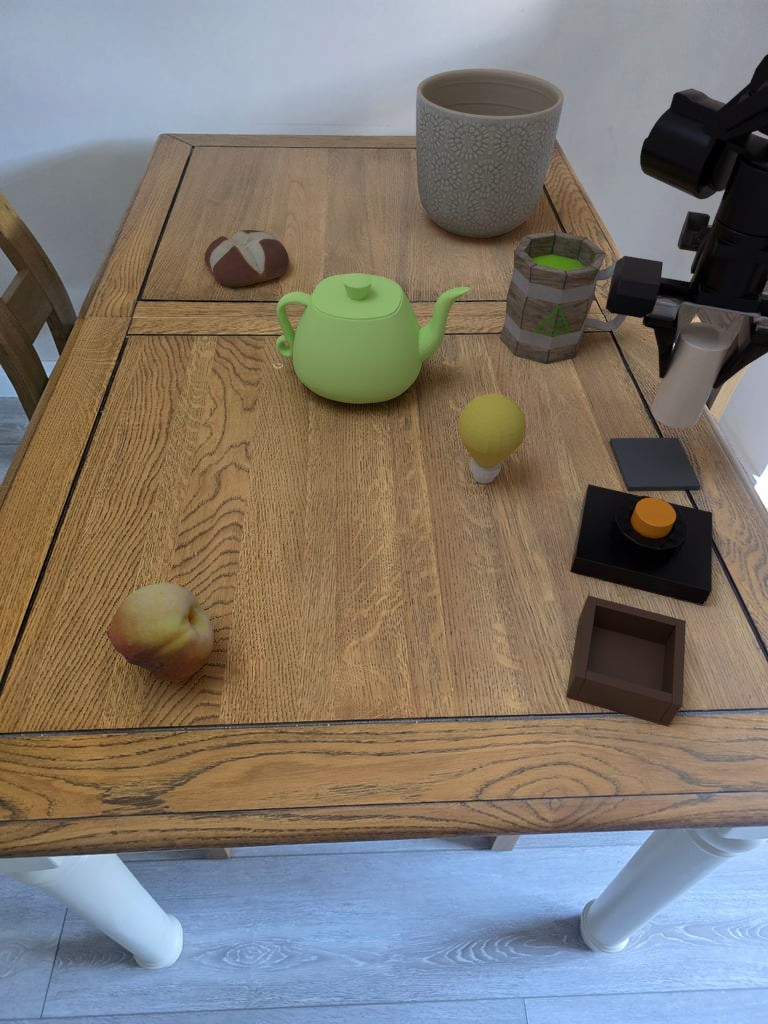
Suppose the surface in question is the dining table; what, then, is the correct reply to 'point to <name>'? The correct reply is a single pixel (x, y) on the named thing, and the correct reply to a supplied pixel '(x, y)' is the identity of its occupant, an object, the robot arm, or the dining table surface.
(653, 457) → the mat
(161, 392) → the dining table surface
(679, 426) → the canister
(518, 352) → the mug
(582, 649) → the holder
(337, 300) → the teapot
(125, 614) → the fruit
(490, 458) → the light bulb
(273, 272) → the bread
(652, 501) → the button
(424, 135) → the planter
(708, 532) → the base
